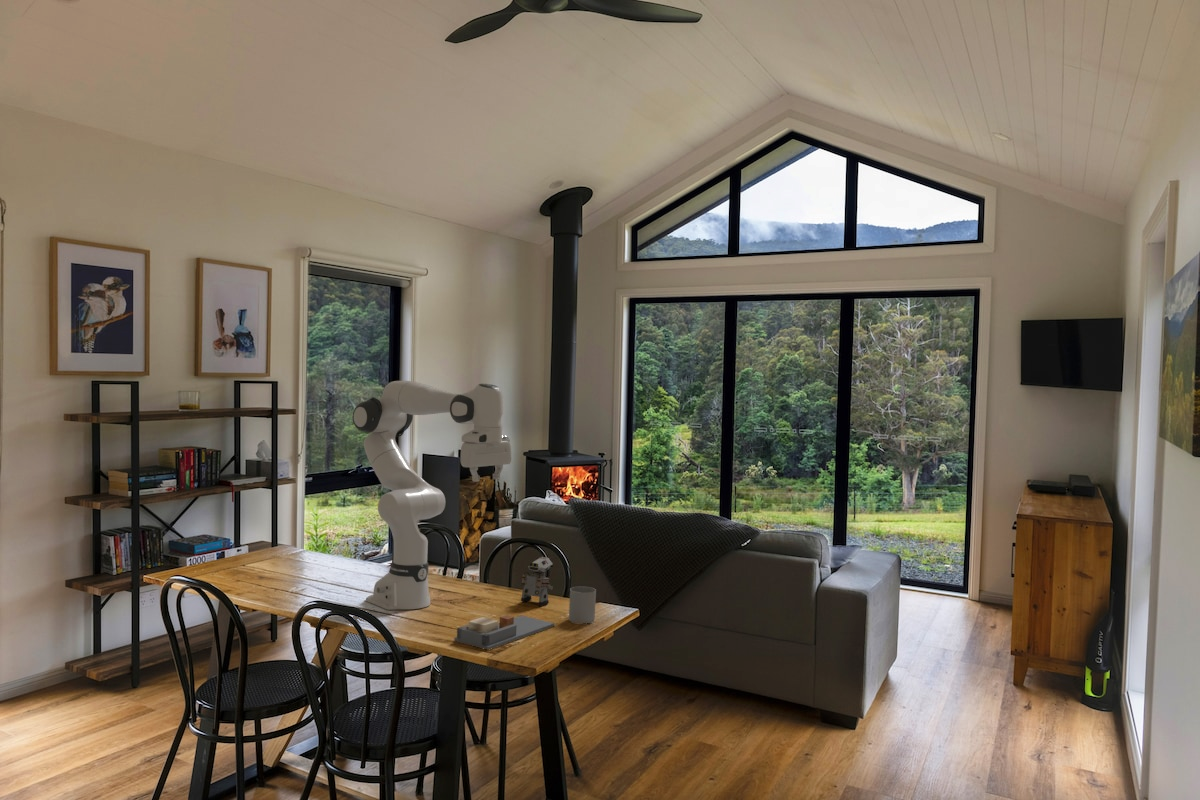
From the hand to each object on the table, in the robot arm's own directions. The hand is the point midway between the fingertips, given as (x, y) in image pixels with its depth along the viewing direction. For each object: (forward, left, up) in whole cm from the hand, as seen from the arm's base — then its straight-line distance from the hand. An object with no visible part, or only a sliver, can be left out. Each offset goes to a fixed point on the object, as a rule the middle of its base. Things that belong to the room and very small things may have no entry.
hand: (486, 480), depth 255 cm
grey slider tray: (+13, -3, -45) cm, 47 cm away
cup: (+22, +24, -45) cm, 56 cm away
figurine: (-2, +32, -45) cm, 55 cm away
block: (+13, -9, -44) cm, 46 cm away
